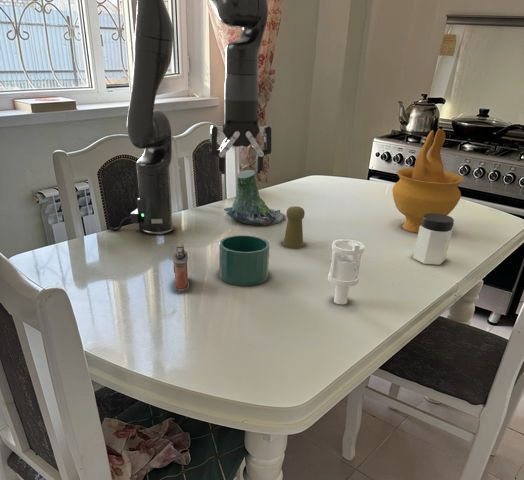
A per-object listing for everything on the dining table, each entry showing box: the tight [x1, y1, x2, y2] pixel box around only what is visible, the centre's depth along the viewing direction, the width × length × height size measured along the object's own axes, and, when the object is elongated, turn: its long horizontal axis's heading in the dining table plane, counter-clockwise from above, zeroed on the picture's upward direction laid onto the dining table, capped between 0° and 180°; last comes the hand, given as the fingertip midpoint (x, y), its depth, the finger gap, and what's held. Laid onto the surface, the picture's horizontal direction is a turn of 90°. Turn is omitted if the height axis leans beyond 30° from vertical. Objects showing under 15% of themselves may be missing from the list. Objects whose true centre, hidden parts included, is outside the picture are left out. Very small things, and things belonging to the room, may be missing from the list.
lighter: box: [172, 242, 190, 294], centre depth 118 cm, size 8×3×10 cm, turn 5°
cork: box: [282, 205, 306, 249], centre depth 145 cm, size 6×6×11 cm
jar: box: [412, 213, 455, 266], centre depth 139 cm, size 9×8×12 cm
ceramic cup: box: [218, 234, 270, 287], centre depth 125 cm, size 12×12×8 cm
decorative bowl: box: [391, 128, 465, 234], centre depth 158 cm, size 21×21×30 cm
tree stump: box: [223, 169, 284, 226], centre depth 164 cm, size 18×20×18 cm
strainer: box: [327, 238, 365, 305], centre depth 113 cm, size 7×7×15 cm
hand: (240, 173), depth 119 cm, fingers open, 8 cm apart
